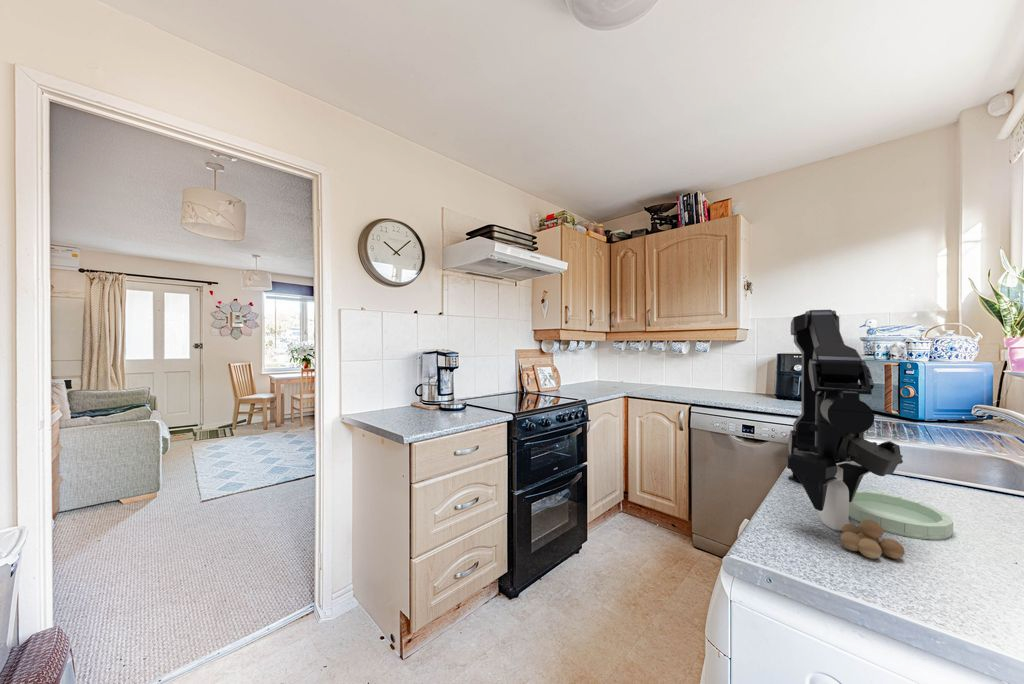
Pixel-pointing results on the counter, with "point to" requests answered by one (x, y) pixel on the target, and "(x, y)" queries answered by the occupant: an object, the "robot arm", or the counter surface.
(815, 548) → the counter surface
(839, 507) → the eye dropper bottle
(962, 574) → the counter surface
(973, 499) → the counter surface
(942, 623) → the counter surface
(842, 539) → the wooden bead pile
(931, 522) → the sage dish
